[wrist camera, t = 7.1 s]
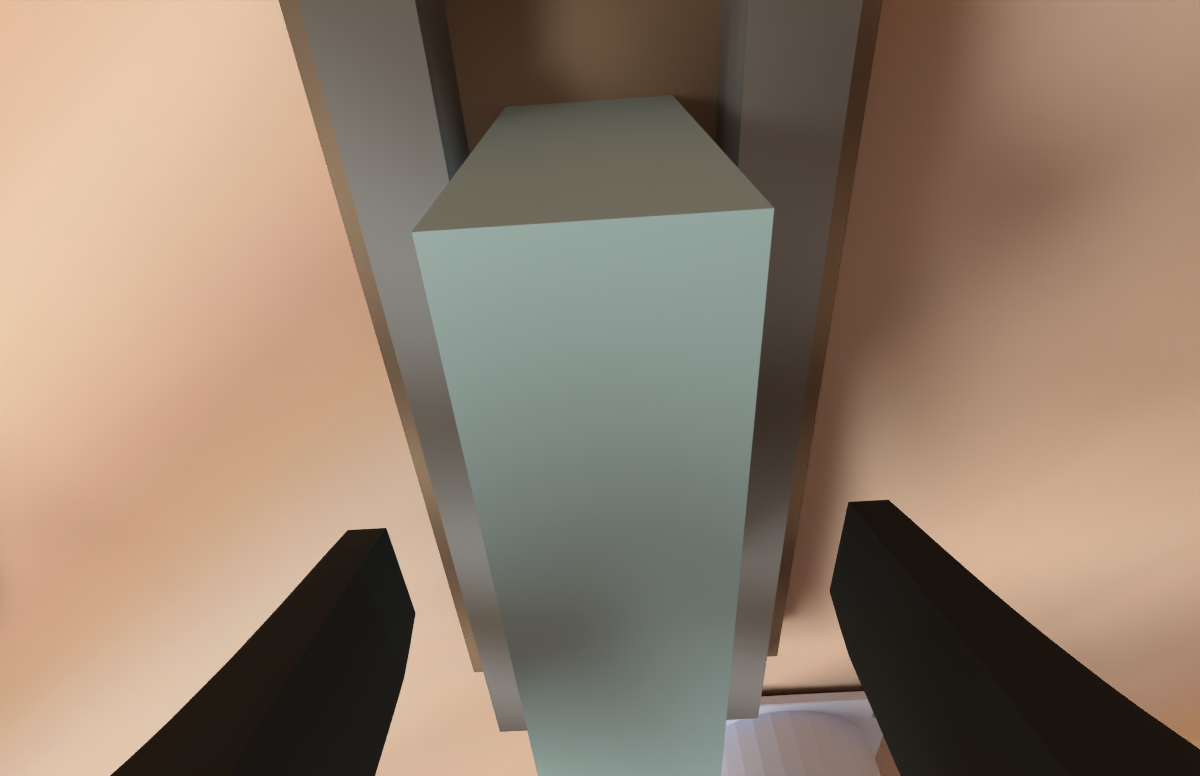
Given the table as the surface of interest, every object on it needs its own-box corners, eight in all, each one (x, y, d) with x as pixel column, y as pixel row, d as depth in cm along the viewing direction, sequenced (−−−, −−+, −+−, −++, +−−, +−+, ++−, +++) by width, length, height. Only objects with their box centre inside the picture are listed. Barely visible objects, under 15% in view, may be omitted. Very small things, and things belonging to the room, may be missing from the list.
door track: (767, 624, 21) (794, 716, 18) (479, 640, 21) (463, 733, 18) (897, -300, 9) (1027, -425, 6) (240, -249, 9) (99, -349, 7)
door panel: (505, 106, 11) (410, 231, 5) (672, 94, 11) (774, 207, 5) (559, 512, 16) (544, 802, 10) (670, 505, 16) (719, 793, 10)
